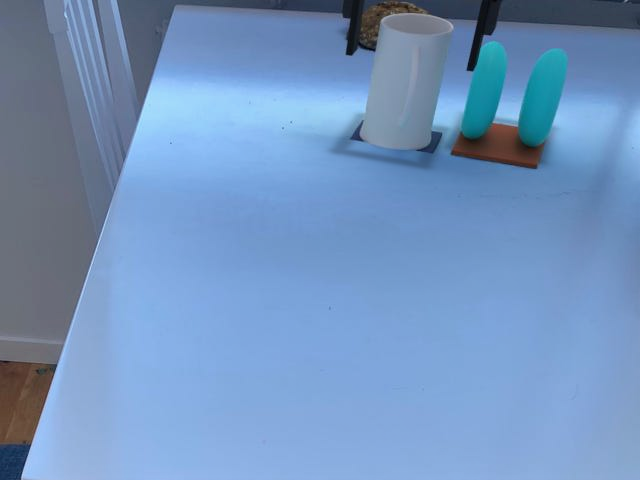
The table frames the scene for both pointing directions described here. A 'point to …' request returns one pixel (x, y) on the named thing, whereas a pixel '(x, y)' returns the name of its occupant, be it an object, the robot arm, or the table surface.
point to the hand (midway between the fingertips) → (410, 60)
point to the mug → (406, 80)
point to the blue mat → (429, 149)
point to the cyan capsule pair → (537, 97)
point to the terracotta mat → (499, 147)
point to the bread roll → (376, 14)
